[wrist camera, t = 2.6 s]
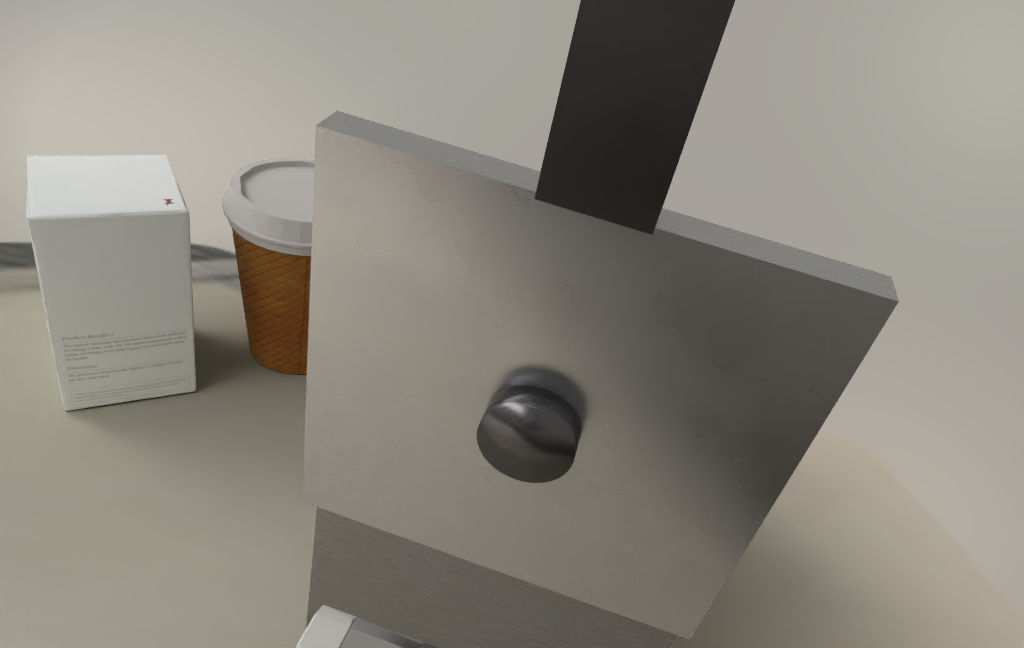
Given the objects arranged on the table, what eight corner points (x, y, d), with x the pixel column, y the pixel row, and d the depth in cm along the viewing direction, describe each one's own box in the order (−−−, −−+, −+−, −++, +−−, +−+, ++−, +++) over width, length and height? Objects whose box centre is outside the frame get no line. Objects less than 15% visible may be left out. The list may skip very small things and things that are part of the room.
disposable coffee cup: (264, 294, 56) (268, 142, 50) (386, 329, 56) (406, 181, 49) (195, 365, 48) (188, 196, 42) (335, 407, 48) (351, 243, 41)
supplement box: (180, 325, 51) (172, 151, 44) (198, 394, 46) (192, 210, 39) (54, 338, 48) (24, 151, 41) (58, 414, 43) (24, 216, 36)
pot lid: (316, 478, 29) (288, 521, 27) (357, -257, 16) (306, -267, 14) (692, 611, 28) (687, 665, 26) (1100, -75, 14) (1150, -60, 12)
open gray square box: (306, 628, 35) (319, 478, 30) (419, 430, 47) (443, 299, 42) (615, 744, 34) (689, 609, 28) (647, 508, 46) (704, 383, 40)
